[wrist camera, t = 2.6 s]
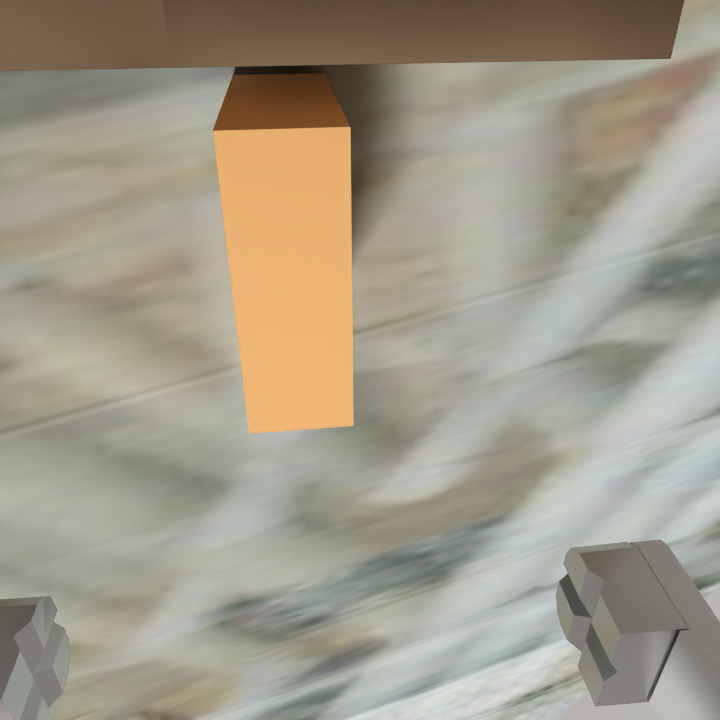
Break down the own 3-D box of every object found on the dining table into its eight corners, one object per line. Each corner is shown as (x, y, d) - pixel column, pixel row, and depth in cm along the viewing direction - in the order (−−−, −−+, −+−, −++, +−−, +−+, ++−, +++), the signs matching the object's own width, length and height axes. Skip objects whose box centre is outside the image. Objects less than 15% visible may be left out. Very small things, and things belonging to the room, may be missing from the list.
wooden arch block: (330, 298, 31) (353, 425, 22) (255, 302, 30) (249, 433, 22) (324, 73, 25) (350, 127, 17) (233, 74, 25) (212, 130, 16)
